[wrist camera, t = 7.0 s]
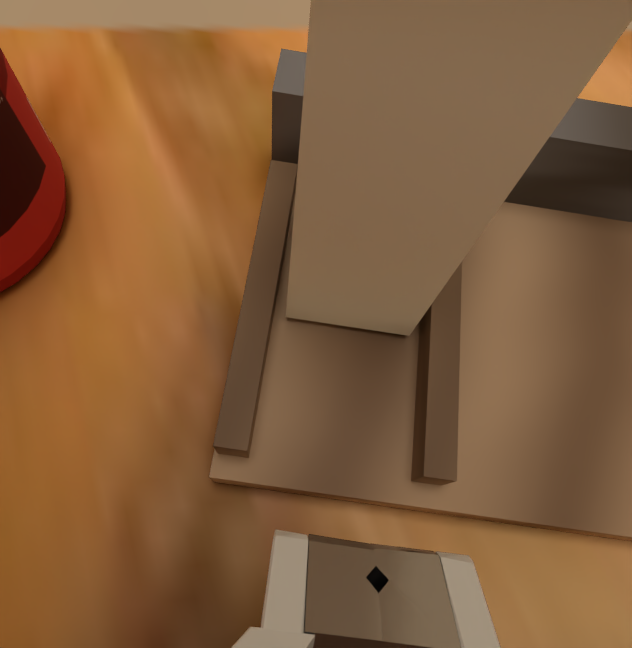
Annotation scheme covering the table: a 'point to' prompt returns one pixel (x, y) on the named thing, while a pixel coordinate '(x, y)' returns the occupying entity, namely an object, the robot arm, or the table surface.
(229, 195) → the table surface
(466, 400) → the board
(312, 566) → the robot arm
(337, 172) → the cream tall block
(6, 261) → the canned food
